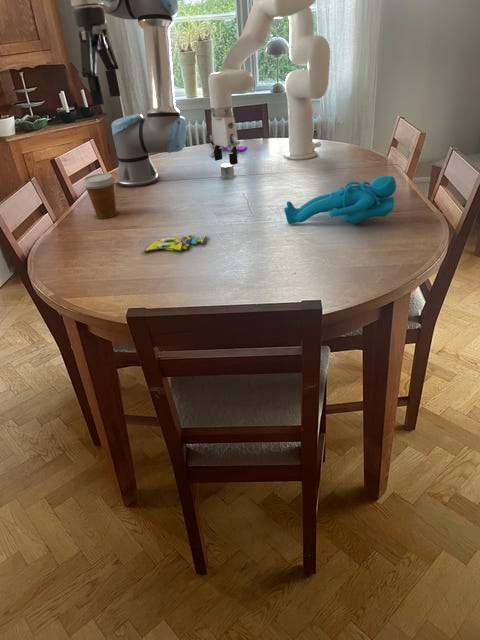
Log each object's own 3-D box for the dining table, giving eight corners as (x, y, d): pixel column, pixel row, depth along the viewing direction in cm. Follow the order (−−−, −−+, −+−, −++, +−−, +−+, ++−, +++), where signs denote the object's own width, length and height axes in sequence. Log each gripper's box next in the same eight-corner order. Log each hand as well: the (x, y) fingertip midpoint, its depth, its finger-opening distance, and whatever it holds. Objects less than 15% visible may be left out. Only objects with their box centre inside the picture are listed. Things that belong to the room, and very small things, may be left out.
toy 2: (287, 190, 142) (392, 164, 132) (296, 223, 147) (398, 200, 137) (279, 211, 128) (396, 183, 118) (290, 247, 133) (402, 223, 123)
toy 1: (199, 248, 125) (143, 249, 127) (199, 251, 125) (144, 252, 127) (206, 233, 133) (154, 234, 135) (206, 236, 133) (154, 237, 136)
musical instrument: (232, 160, 201) (256, 142, 213) (231, 155, 200) (255, 138, 212) (188, 160, 214) (213, 143, 226) (187, 155, 213) (212, 139, 225)
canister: (221, 179, 178) (220, 167, 176) (221, 175, 182) (220, 163, 179) (234, 178, 178) (233, 166, 175) (234, 174, 182) (233, 162, 179)
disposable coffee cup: (85, 218, 153) (75, 181, 146) (103, 208, 160) (94, 172, 154) (110, 221, 150) (101, 182, 143) (127, 210, 157) (119, 173, 150)
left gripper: (83, 6, 108) (105, 107, 120) (118, 5, 129) (134, 92, 140) (52, 9, 109) (76, 109, 121) (91, 8, 130) (109, 93, 141)
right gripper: (245, 112, 163) (248, 163, 172) (216, 108, 175) (221, 156, 185) (227, 116, 160) (231, 168, 169) (199, 111, 172) (204, 160, 181)
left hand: (107, 100), depth 131 cm, fingers open, 13 cm apart
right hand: (226, 162), depth 177 cm, fingers open, 9 cm apart
